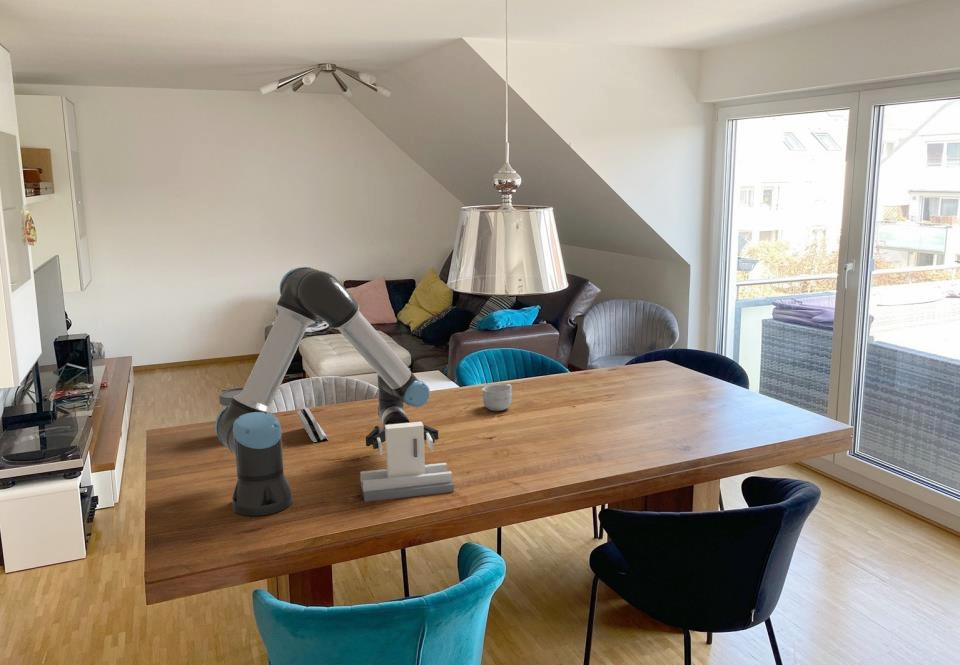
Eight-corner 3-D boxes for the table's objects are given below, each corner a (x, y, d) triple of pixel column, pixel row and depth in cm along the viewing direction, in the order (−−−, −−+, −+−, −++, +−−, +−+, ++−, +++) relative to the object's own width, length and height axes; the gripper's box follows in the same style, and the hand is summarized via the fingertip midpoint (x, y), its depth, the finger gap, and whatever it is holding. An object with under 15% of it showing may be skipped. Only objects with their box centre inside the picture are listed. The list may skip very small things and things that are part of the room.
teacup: (495, 415, 271) (495, 393, 270) (476, 408, 279) (475, 387, 278) (524, 407, 280) (524, 386, 278) (504, 400, 288) (504, 380, 286)
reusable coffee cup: (221, 444, 245) (218, 399, 242) (223, 432, 257) (219, 389, 254) (262, 440, 249) (259, 396, 246) (261, 428, 260) (258, 385, 257)
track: (364, 501, 202) (364, 485, 201) (360, 484, 213) (359, 468, 212) (453, 491, 207) (453, 476, 206) (444, 474, 219) (444, 460, 218)
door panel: (389, 486, 206) (386, 430, 203) (387, 480, 210) (384, 424, 207) (425, 482, 209) (424, 426, 205) (422, 476, 213) (421, 421, 209)
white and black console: (329, 441, 247) (317, 414, 244) (315, 447, 246) (303, 421, 243) (318, 425, 262) (306, 400, 259) (305, 432, 261) (293, 406, 258)
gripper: (437, 431, 229) (452, 456, 209) (353, 439, 223) (360, 465, 203) (437, 407, 227) (452, 430, 207) (352, 414, 221) (359, 438, 201)
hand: (406, 447), depth 205 cm, fingers open, 13 cm apart
